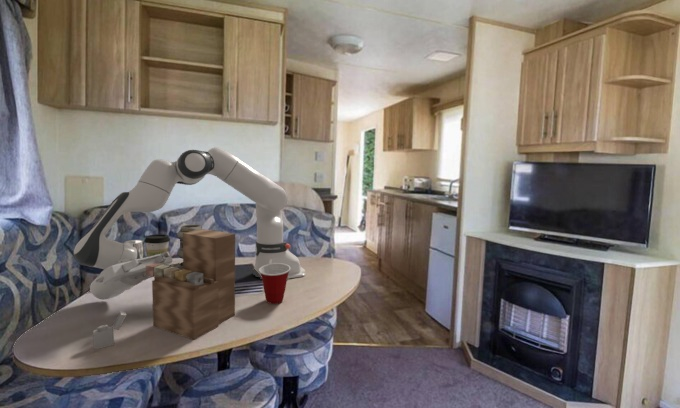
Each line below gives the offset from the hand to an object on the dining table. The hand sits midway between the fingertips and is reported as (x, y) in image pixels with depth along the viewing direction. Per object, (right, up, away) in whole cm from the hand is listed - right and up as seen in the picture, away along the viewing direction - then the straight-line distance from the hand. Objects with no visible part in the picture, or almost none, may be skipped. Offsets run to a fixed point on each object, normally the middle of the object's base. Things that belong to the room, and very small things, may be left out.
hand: (153, 257), depth 105 cm
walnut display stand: (+12, -19, +1) cm, 23 cm away
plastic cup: (+32, -18, +19) cm, 41 cm away
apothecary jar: (-13, -12, +57) cm, 60 cm away
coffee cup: (-23, -13, +46) cm, 53 cm away
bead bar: (+7, -6, -3) cm, 10 cm away
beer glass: (-26, -14, +35) cm, 46 cm away
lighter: (-4, -20, -14) cm, 25 cm away
